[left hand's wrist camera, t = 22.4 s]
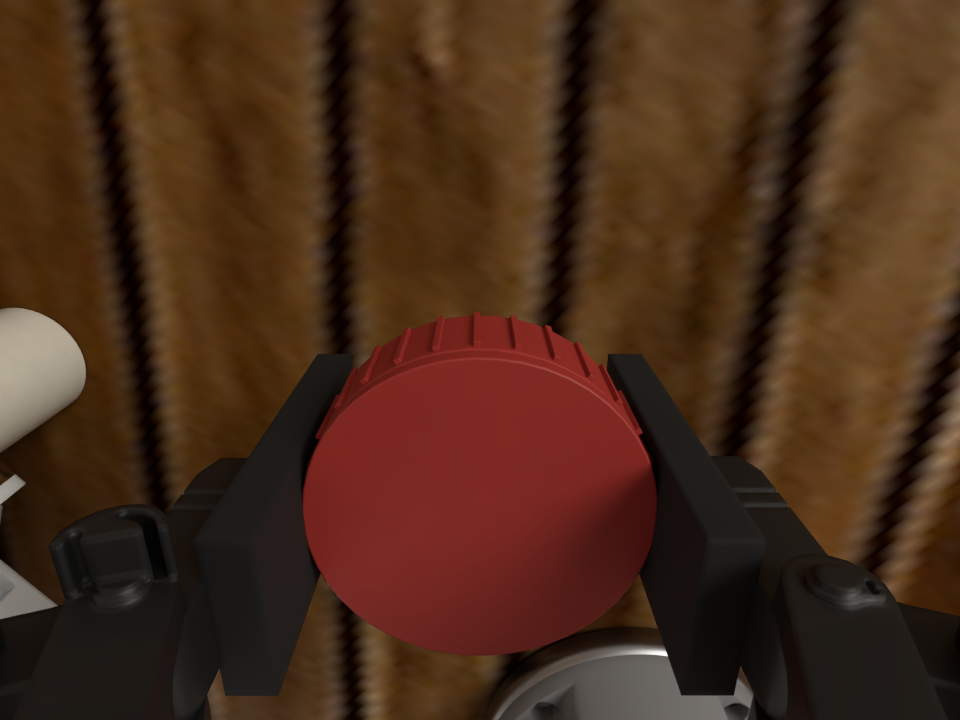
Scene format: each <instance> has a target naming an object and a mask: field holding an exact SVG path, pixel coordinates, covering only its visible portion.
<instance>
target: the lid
mask: <svg viewBox="0 0 960 720" xmlns="http://www.w3.org/2000/svg"><path fill="white" fill-rule="evenodd" d="M640 434H642V431H641V429H640V427H639V425H638V423H637V421H636V419H635V417H634V415H633V413H632V411H631V409H630V407H629V405H628V403H627V401H626V399H625V397H624V395H623V393H622V392H621V390H620V391H617V390H616V388H615V386H614V384H613V382H612V380H611V378H610V376H609V374H608V372H607V370H606V368H605V367H604V365H603V364H601V365H600V366H598V365H597V364H596V363H595V362H594V361H593V360H592V359H591V358H590V357H589V356H588V355H587V354H586V353H584V350H583V348H582V346H581V344H580V343H578V342H576V343H575V344H573V343H571V342H570V341H568V340H566V339H564V338H563V337H561V336H559V335H558V334H556V333H554V332H552V329H551V327H550V326H547V325H545V327H544V328H542V327H540V326H537V325H535V324H531V323H527V322H524V321H520V320H517V316H515V315H511V316H510V318H504V317H497V316H480V312H474V316H464V317H455V318H448V319H444V316H441V317H438V319H437V321H436V322H432V323H428V324H426V325H423V326H420V327H418V328H415V329H413V330H411V329H410V328H409V327H408V328H406V329H404V331H403V334H402V335H401V336H399V337H397V338H395V339H393V340H392V341H390V342H389V343H387V344H386V345H385V346H383V347H381V346H380V345H378V346H376V347H375V348H374V351H373V353H372V355H371V357H370V358H369V359H368V360H367V361H366V362H365V363H364V364H363V365H362V366H361V367H360V368H359V369H358V370H357V369H356V368H354V369H353V370H352V371H351V373H350V375H349V377H348V379H347V381H346V383H345V385H344V387H343V389H342V391H341V393H340V395H336V397H335V399H334V401H333V403H332V405H331V407H330V409H329V411H328V413H327V415H326V417H325V419H324V421H323V423H322V425H321V427H320V429H319V431H318V433H317V435H316V437H315V438H316V439H319V442H318V444H317V446H316V448H315V450H314V452H313V454H312V456H311V458H310V460H309V462H308V465H307V472H306V476H305V481H304V486H303V494H302V505H303V514H304V522H305V530H306V537H307V543H308V546H309V550H310V552H311V554H312V556H313V559H314V561H315V563H316V566H317V567H318V569H319V571H320V572H321V574H322V576H323V577H324V579H325V581H326V582H327V584H328V585H329V586H330V587H331V588H332V590H333V591H334V592H335V593H336V595H337V596H338V597H339V598H340V599H341V600H342V601H343V602H344V603H345V604H346V605H347V606H348V607H349V608H350V609H351V610H352V611H353V612H355V613H356V614H357V615H359V616H360V617H361V618H363V619H364V620H365V621H367V622H368V623H369V624H371V625H373V626H375V627H376V628H378V629H380V630H381V631H383V632H385V633H387V634H389V635H391V636H393V637H395V638H398V639H400V640H402V641H404V642H407V643H410V644H413V645H416V646H419V647H422V648H426V649H430V650H435V651H440V652H444V653H452V654H461V655H499V654H509V653H515V652H520V651H525V650H530V649H533V648H537V647H540V646H544V645H547V644H550V643H552V642H555V641H557V640H560V639H562V638H565V637H567V636H569V635H571V634H573V633H575V632H576V631H578V630H580V629H582V628H584V627H586V626H587V625H589V624H590V623H591V622H593V621H594V620H596V619H597V618H599V617H600V616H601V615H603V614H604V613H605V612H606V611H607V610H608V609H609V608H611V607H612V606H613V605H614V604H615V603H616V602H617V601H618V600H619V599H620V598H621V597H622V595H623V594H624V593H625V592H626V591H627V590H628V589H629V587H630V586H631V585H632V583H633V582H634V580H635V579H636V577H637V576H638V574H639V572H640V571H641V569H642V567H643V565H644V563H645V561H646V559H647V556H648V554H649V552H650V549H651V545H652V541H653V534H654V527H655V519H656V510H657V501H658V493H657V487H656V481H655V475H654V472H653V469H652V464H653V461H652V458H651V456H650V454H649V452H648V450H647V448H646V446H645V444H644V442H643V440H642V438H641V436H640Z"/></svg>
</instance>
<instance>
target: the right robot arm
mask: <svg viewBox="0 0 960 720" xmlns="http://www.w3.org/2000/svg"><path fill="white" fill-rule="evenodd" d="M14 474H15V473H14V472H13V471H12V470H10V469H9V468H8V467H7V466H5V465H4V464H3V463H2V462H1V461H0V504H2V503H3V502H4V501H5V500H7V499H8V498H9V497H10V496H12V495H13V494H14V493H15V492H16V491H18V490H19V489H20V488H21V487H23V486H24V485H25V484H26V482H24V481H23V480H22V479H21V478H20V477H18V476H17V475H16V474H15V475H14ZM13 475H14V476H13ZM9 478H10V479H9ZM1 514H2V505H0V522H1ZM56 606H58V605H57V604H55V603H54V602H53V601H52V600H50V599H49V598H48V597H47V596H45V595H44V594H43V593H42V592H40V591H39V590H38V589H37V588H35V587H34V586H33V585H32V584H30V583H29V582H28V581H27V580H25V579H24V578H23V577H22V576H21V575H19V574H18V573H17V572H16V571H14V570H13V569H12V568H11V567H9V566H8V565H7V564H6V563H4V562H3V561H2V560H1V559H0V619H3V618H7V617H12V616H16V615H21V614H25V613H30V612H34V611H39V610H44V609H48V608H52V607H56Z"/></svg>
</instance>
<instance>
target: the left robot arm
mask: <svg viewBox="0 0 960 720" xmlns="http://www.w3.org/2000/svg"><path fill="white" fill-rule="evenodd" d="M352 370H353V368H352V356H351V354H318V355H317V356H316V358H315V359H314V361H313V362H312V364H311V365H310V367H309V368H308V370H307V371H306V372H305V374H304V375H303V377H302V378H301V380H300V381H299V383H298V384H297V386H296V387H295V389H294V390H293V392H292V393H291V395H290V396H289V398H288V399H287V401H286V402H285V404H284V405H283V407H282V408H281V410H280V411H279V413H278V414H277V416H276V417H275V419H274V420H273V422H272V423H271V425H270V426H269V428H268V429H267V431H266V432H265V434H264V435H263V437H262V438H261V440H260V441H259V443H258V444H257V446H256V447H255V449H254V450H253V452H252V453H251V455H250V456H249V458H221V459H219V460H218V461H216V462H215V463H213V464H212V465H210V466H209V467H207V468H206V469H204V470H203V471H201V472H200V473H198V474H197V476H196V477H195V478H194V480H193V481H192V482H191V483H190V485H189V486H188V487H187V488H186V490H185V491H184V495H181V496H180V497H179V499H178V500H177V501H176V503H175V504H174V505H173V509H172V510H169V512H168V513H167V514H164V513H163V512H162V511H161V510H159V509H158V508H157V507H152V506H147V505H142V504H138V505H121V506H117V507H113V508H109V509H105V510H100V511H98V512H95V513H93V514H91V515H88V516H86V517H84V518H81V519H79V520H77V521H75V522H74V523H72V524H71V525H69V526H68V527H67V528H65V529H64V530H62V531H61V532H59V533H58V535H57V536H56V537H55V538H54V539H53V541H52V542H51V543H50V544H49V545H48V546H49V549H50V552H51V555H52V559H53V562H54V565H55V568H56V571H57V574H58V577H59V581H60V584H61V587H62V590H63V593H64V596H65V601H64V603H63V605H59V606H56V607H52V608H48V609H44V610H39V611H34V612H30V613H25V614H21V615H16V616H12V617H7V618H3V619H0V720H211V713H210V707H209V702H208V698H207V693H208V691H209V689H210V687H211V685H212V683H213V680H214V678H215V676H216V674H217V672H218V670H219V668H220V671H221V676H222V680H223V685H224V690H225V695H226V696H278V695H279V692H280V689H281V686H282V683H283V680H284V678H285V675H286V672H287V669H288V666H289V663H290V660H291V657H292V654H293V651H294V649H295V646H296V643H297V640H298V637H299V634H300V631H301V628H302V625H303V622H304V620H305V617H306V614H307V611H308V608H309V605H310V602H311V599H312V596H313V594H314V591H315V588H316V585H317V582H318V579H319V576H320V573H321V572H320V571H319V569H318V567H317V566H316V563H315V561H314V559H313V556H312V554H311V552H310V550H309V546H308V543H307V537H306V530H305V522H304V514H303V505H302V494H303V486H304V481H305V476H306V472H307V465H308V462H309V460H310V458H311V456H312V454H313V452H314V450H315V448H316V446H317V444H318V442H319V439H316V438H315V437H316V435H317V433H318V431H319V429H320V427H321V425H322V423H323V421H324V419H325V417H326V415H327V413H328V411H329V409H330V407H331V405H332V403H333V401H334V399H335V397H336V395H340V393H341V391H342V389H343V387H344V385H345V383H346V381H347V379H348V377H349V375H350V373H351V371H352ZM607 372H608V374H609V376H610V378H611V380H612V382H613V384H614V386H615V388H616V390H617V391H620V390H621V392H622V393H623V395H624V397H625V399H626V401H627V403H628V405H629V407H630V409H631V411H632V413H633V415H634V417H635V419H636V421H637V423H638V425H639V427H640V429H641V431H642V434H640V436H641V438H642V440H643V442H644V444H645V446H646V448H647V450H648V452H649V454H650V456H651V458H652V461H653V464H652V469H653V472H654V475H655V481H656V487H657V493H658V501H657V510H656V519H655V527H654V534H653V541H652V545H651V549H650V552H649V554H648V556H647V559H646V561H645V563H644V565H643V567H642V569H641V571H640V572H639V574H640V577H641V580H642V583H643V586H644V589H645V592H646V595H647V598H648V600H649V603H650V606H651V609H652V612H653V615H654V618H655V621H656V624H657V626H658V629H659V630H658V629H650V628H616V629H607V630H601V631H595V632H590V633H586V634H582V635H579V636H575V637H572V638H569V639H566V640H564V641H561V642H559V643H557V644H554V645H552V646H550V647H548V648H546V649H544V650H542V651H540V652H539V653H537V654H535V655H534V656H532V657H531V658H529V659H528V660H526V661H525V662H524V663H523V664H521V665H520V666H519V667H518V668H516V669H515V670H514V671H513V672H512V673H511V674H510V675H509V676H508V677H507V678H506V680H505V681H504V682H503V683H502V684H501V686H500V687H499V689H498V690H497V692H496V693H495V695H494V697H493V699H492V700H491V702H490V704H489V707H488V710H487V713H486V716H485V720H960V616H956V615H952V614H947V613H942V612H938V611H933V610H929V609H924V608H920V607H915V606H910V605H907V604H903V603H900V602H896V600H895V598H894V596H893V595H892V594H891V592H890V591H889V589H888V588H887V587H886V585H885V584H884V583H883V582H881V581H880V580H879V579H878V578H876V577H875V576H874V575H872V574H871V573H870V572H869V571H867V570H865V569H863V568H861V567H859V566H857V565H855V564H853V563H851V562H849V561H846V560H843V559H839V558H835V557H832V556H828V555H827V554H826V553H825V551H824V550H823V549H822V547H821V546H820V545H819V544H818V542H817V541H816V540H815V539H814V537H813V536H812V535H811V533H810V532H809V531H808V530H807V528H806V527H805V526H804V525H803V523H802V522H801V521H800V519H799V518H798V517H797V516H796V514H795V513H794V512H793V511H792V509H791V508H788V507H787V503H786V502H785V500H784V499H783V498H782V497H781V495H780V494H779V493H776V489H775V488H774V486H773V485H772V484H771V483H770V481H769V480H768V479H767V477H766V476H765V475H764V474H763V472H762V471H760V470H759V469H757V468H756V467H754V466H753V465H751V464H750V463H748V462H747V461H745V460H744V459H742V458H741V457H739V456H710V455H709V454H708V452H707V451H706V449H705V448H704V446H703V445H702V443H701V442H700V440H699V439H698V437H697V436H696V434H695V433H694V431H693V430H692V428H691V427H690V425H689V424H688V422H687V421H686V419H685V418H684V416H683V415H682V413H681V412H680V410H679V409H678V407H677V406H676V404H675V403H674V401H673V400H672V398H671V397H670V395H669V394H668V392H667V391H666V389H665V388H664V387H663V385H662V384H661V382H660V381H659V379H658V378H657V376H656V375H655V373H654V372H653V370H652V369H651V367H650V366H649V364H648V363H647V361H646V360H645V358H644V357H643V355H642V354H608V363H607ZM740 665H741V667H742V670H743V672H744V673H743V672H742V671H741V669H740ZM744 674H745V675H744Z"/></svg>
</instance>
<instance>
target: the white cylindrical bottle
mask: <svg viewBox="0 0 960 720" xmlns="http://www.w3.org/2000/svg"><path fill="white" fill-rule="evenodd" d="M85 379H86V366H85V361H84V358H83V355H82V353H81V350H80V348H79V347H78V345H77V343H76V342H75V340H74V339H73V338H72V336H71V335H70V334H69V333H68V332H67V331H66V330H65V329H64V328H63V327H62V326H60V325H59V324H58V323H56V322H55V321H54V320H52V319H50V318H48V317H47V316H45V315H42V314H40V313H38V312H35V311H32V310H27V309H21V308H5V309H0V453H2V452H3V451H5V450H6V449H7V448H9V447H10V446H12V445H13V444H15V443H16V442H17V441H19V440H20V439H22V438H23V437H25V436H26V435H27V434H29V433H30V432H32V431H33V430H35V429H36V428H37V427H39V426H40V425H42V424H43V423H45V422H46V421H47V420H49V419H50V418H52V417H53V416H55V415H56V414H57V413H59V412H60V411H62V410H63V409H64V408H66V407H67V406H69V405H70V404H72V403H73V402H74V401H75V400H76V399H77V398H78V396H79V395H80V393H81V392H82V390H83V387H84V384H85Z"/></svg>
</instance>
